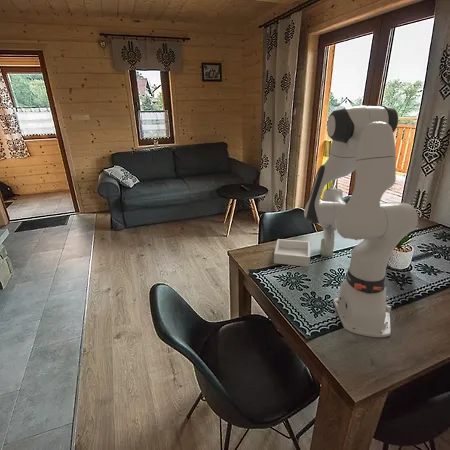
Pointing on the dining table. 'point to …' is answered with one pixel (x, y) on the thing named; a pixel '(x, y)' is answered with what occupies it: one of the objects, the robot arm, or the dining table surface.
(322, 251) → the pale green rounded block
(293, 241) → the bin
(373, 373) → the dining table surface
